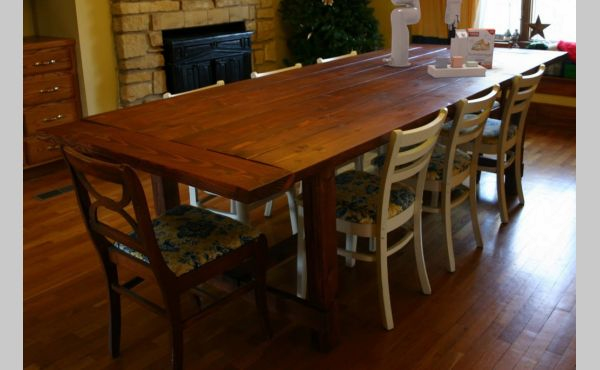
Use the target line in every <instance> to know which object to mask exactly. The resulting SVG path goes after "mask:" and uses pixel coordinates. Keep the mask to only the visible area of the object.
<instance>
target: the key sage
mask: <svg viewBox="0 0 600 370" xmlns="http://www.w3.org/2000/svg"><path fill="white" fill-rule="evenodd" d="M466 67H478V62H475V61H469V62H466Z"/></svg>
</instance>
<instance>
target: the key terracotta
mask: <svg viewBox="0 0 600 370" xmlns="http://www.w3.org/2000/svg"><path fill="white" fill-rule="evenodd" d="M449 65H450V66H451V67H453V68H458V67H463V57H461V56H451V63H450V64H449Z"/></svg>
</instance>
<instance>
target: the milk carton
mask: <svg viewBox="0 0 600 370" xmlns="http://www.w3.org/2000/svg"><path fill="white" fill-rule="evenodd" d="M466 30H467V29H466V28H464V29H463V28H462V29H461V28H460V29H456V33H455V38H450V51H449V64H451V56H461V57H463V64H465V57H466V44H467V32H468V31H466Z"/></svg>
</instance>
